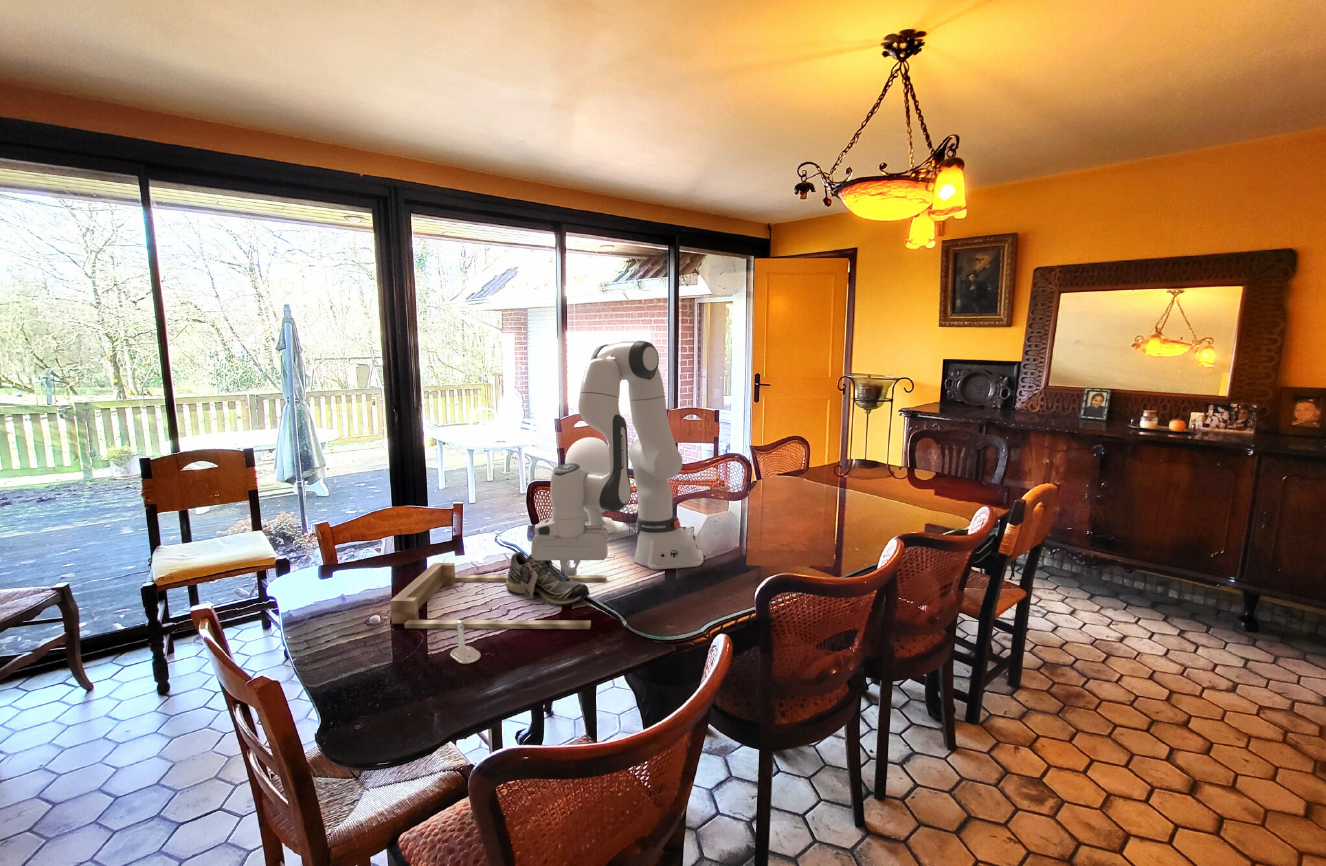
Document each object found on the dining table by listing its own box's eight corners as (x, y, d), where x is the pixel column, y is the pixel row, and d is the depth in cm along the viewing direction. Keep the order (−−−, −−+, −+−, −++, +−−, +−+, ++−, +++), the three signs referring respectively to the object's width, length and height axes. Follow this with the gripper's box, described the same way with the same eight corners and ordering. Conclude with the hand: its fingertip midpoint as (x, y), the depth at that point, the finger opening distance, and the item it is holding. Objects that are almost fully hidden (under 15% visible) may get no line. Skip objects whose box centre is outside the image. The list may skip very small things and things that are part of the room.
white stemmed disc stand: (464, 666, 126) (446, 653, 131) (484, 657, 129) (467, 645, 135) (461, 633, 125) (444, 621, 130) (482, 625, 128) (465, 614, 134)
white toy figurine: (628, 527, 222) (626, 437, 217) (579, 541, 206) (575, 444, 201) (597, 517, 236) (594, 432, 231) (548, 529, 221) (544, 438, 216)
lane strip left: (590, 625, 144) (590, 620, 143) (589, 628, 142) (589, 624, 141) (408, 624, 145) (408, 619, 145) (404, 628, 143) (404, 623, 143)
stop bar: (455, 582, 171) (454, 562, 171) (415, 623, 146) (413, 600, 145) (435, 582, 172) (434, 562, 171) (392, 623, 146) (390, 600, 145)
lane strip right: (606, 578, 172) (606, 575, 172) (605, 581, 170) (605, 577, 170) (454, 578, 174) (453, 575, 174) (451, 581, 172) (451, 577, 172)
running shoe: (573, 614, 150) (572, 570, 148) (492, 595, 162) (490, 554, 161) (599, 596, 161) (598, 554, 159) (521, 579, 173) (519, 541, 171)
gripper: (609, 521, 157) (610, 570, 159) (534, 521, 158) (536, 570, 160) (606, 528, 151) (607, 579, 153) (528, 529, 152) (530, 579, 154)
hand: (570, 574), depth 156 cm, fingers closed
